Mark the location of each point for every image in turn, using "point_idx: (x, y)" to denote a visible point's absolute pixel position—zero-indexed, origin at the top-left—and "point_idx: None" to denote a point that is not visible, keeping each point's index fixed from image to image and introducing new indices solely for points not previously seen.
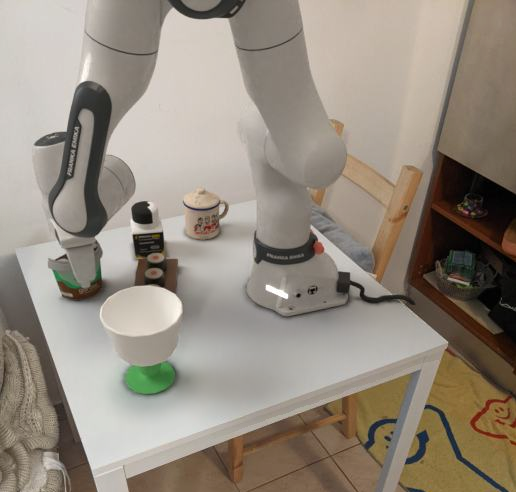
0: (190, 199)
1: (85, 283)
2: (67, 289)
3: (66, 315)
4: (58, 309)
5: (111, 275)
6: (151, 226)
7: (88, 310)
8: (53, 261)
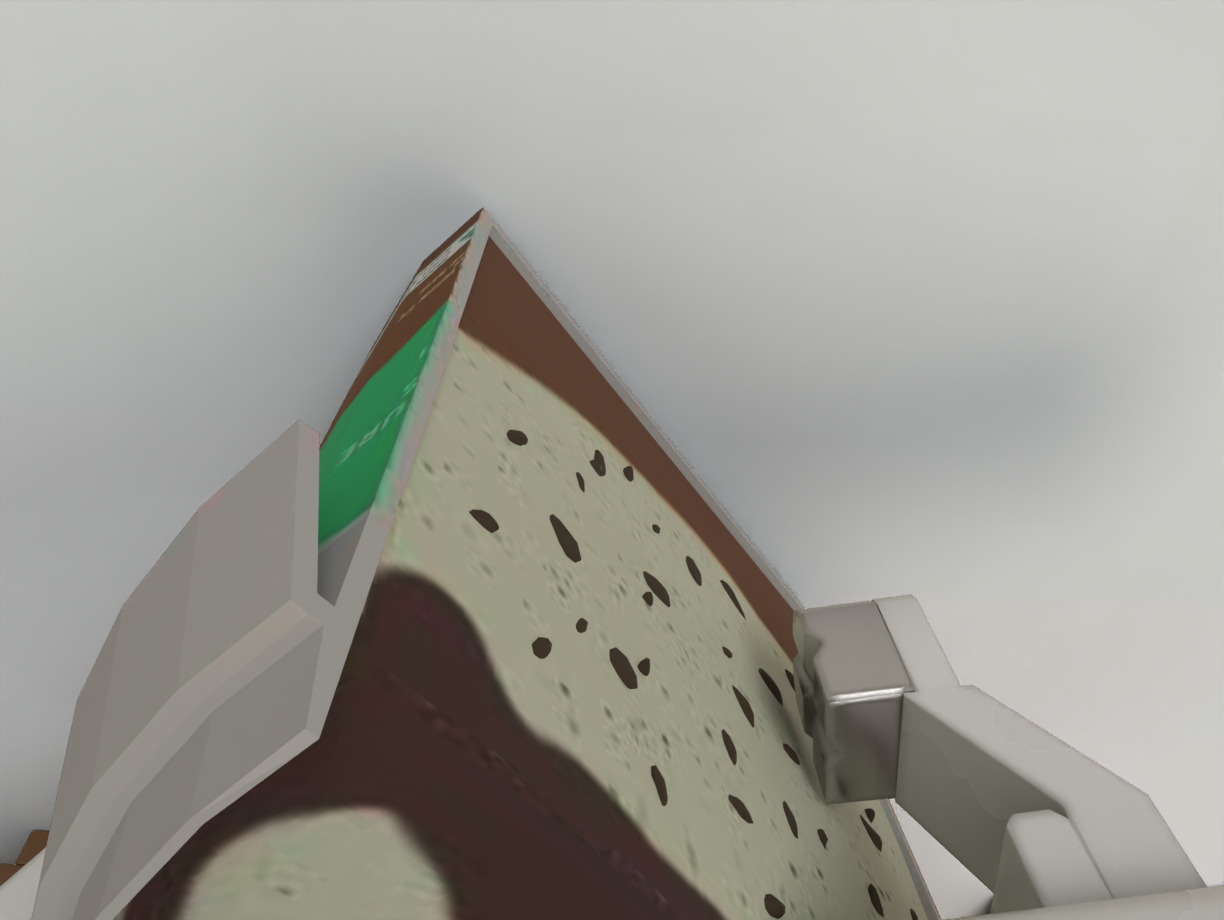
0: None
1: None
2: (342, 404)
3: (40, 236)
4: (195, 124)
5: None
6: None
7: (161, 497)
8: (137, 823)
